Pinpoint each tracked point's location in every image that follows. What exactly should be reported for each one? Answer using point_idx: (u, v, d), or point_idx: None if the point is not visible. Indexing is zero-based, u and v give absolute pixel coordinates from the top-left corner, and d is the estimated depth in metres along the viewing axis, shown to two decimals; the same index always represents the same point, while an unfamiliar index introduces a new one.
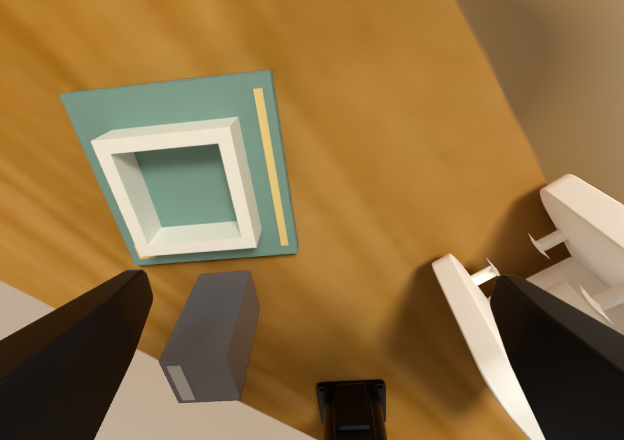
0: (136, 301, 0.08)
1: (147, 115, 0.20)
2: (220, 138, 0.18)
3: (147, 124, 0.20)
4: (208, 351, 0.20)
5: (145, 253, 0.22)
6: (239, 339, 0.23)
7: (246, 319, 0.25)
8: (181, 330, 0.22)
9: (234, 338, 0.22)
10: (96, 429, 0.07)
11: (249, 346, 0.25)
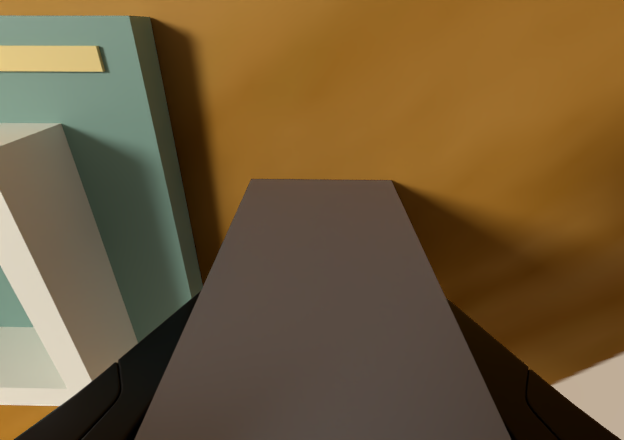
0: None
1: None
2: None
3: None
4: None
5: None
6: (277, 326, 0.05)
7: (306, 246, 0.07)
8: None
9: (204, 364, 0.04)
10: None
11: (407, 273, 0.06)
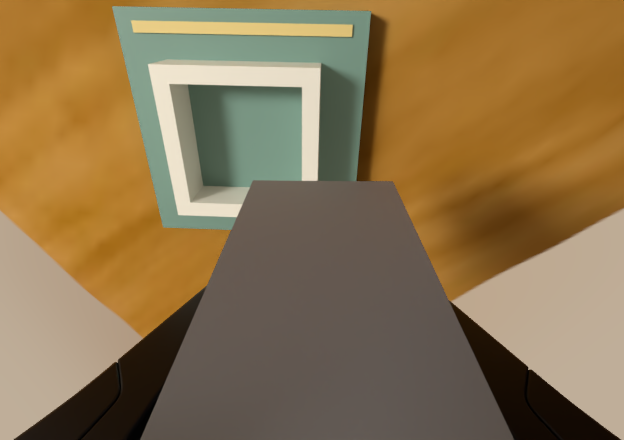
0: None
1: None
2: (162, 79, 0.15)
3: None
4: None
5: None
6: (280, 328, 0.05)
7: (308, 247, 0.07)
8: None
9: (207, 367, 0.04)
10: None
11: (409, 275, 0.06)
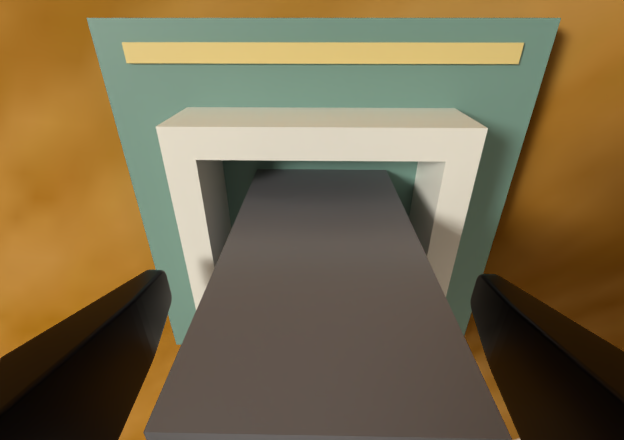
0: (157, 301, 0.08)
1: None
2: (184, 152, 0.08)
3: None
4: None
5: None
6: (285, 286, 0.06)
7: (309, 224, 0.08)
8: None
9: (225, 314, 0.05)
10: (120, 430, 0.07)
11: (397, 246, 0.07)
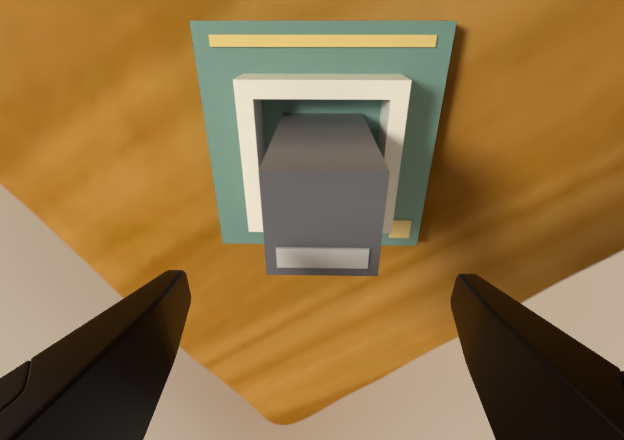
0: (178, 302, 0.08)
1: (241, 174, 0.19)
2: (246, 94, 0.15)
3: None
4: None
5: (388, 226, 0.18)
6: (305, 146, 0.13)
7: (315, 131, 0.15)
8: None
9: (279, 152, 0.12)
10: (144, 430, 0.07)
11: (361, 137, 0.14)
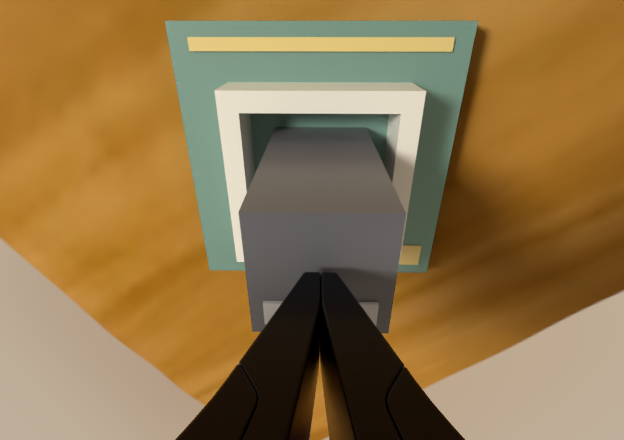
0: (320, 304, 0.08)
1: None
2: (231, 108, 0.13)
3: None
4: None
5: None
6: (299, 174, 0.10)
7: (312, 152, 0.12)
8: None
9: (268, 183, 0.10)
10: None
11: (366, 160, 0.11)
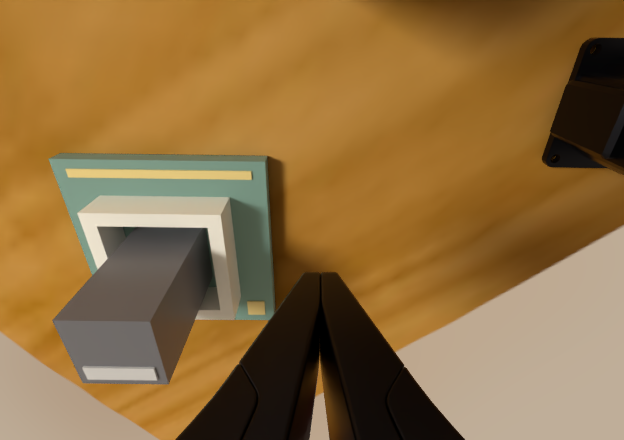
0: (320, 304, 0.08)
1: None
2: (91, 223, 0.19)
3: None
4: None
5: (230, 314, 0.22)
6: (115, 282, 0.16)
7: (142, 256, 0.18)
8: None
9: (88, 291, 0.16)
10: (309, 434, 0.07)
11: (171, 266, 0.17)
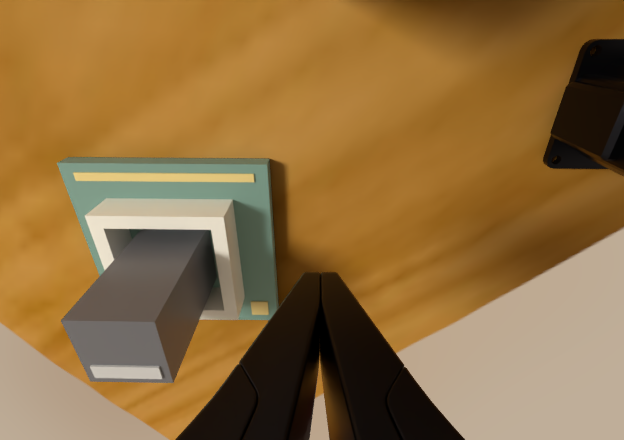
0: (320, 304, 0.08)
1: None
2: (97, 225, 0.19)
3: None
4: None
5: (234, 315, 0.22)
6: (121, 283, 0.17)
7: (147, 257, 0.19)
8: None
9: (95, 292, 0.16)
10: None
11: (175, 267, 0.18)
